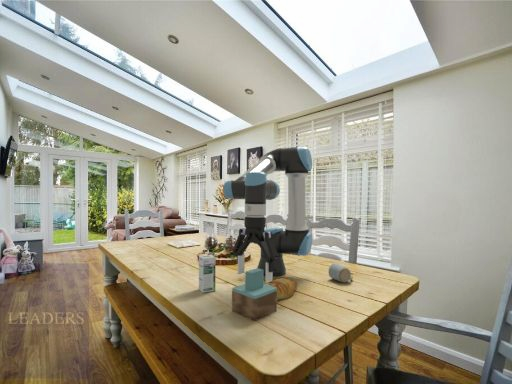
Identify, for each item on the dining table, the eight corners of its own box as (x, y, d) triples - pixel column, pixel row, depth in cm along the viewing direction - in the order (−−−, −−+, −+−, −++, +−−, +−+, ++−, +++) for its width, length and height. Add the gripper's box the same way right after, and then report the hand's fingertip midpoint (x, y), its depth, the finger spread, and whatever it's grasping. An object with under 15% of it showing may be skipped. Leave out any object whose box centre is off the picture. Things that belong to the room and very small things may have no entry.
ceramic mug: (339, 284, 126) (340, 267, 126) (328, 279, 133) (328, 263, 133) (357, 281, 130) (357, 265, 130) (344, 277, 138) (345, 261, 138)
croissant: (269, 313, 102) (277, 297, 100) (252, 295, 108) (259, 279, 106) (300, 296, 118) (307, 282, 116) (283, 281, 124) (290, 267, 122)
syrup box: (202, 293, 113) (202, 257, 113) (198, 288, 118) (198, 255, 118) (215, 291, 115) (215, 256, 116) (211, 287, 121) (211, 253, 121)
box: (232, 310, 96) (232, 290, 96) (253, 302, 104) (254, 283, 104) (254, 321, 88) (254, 299, 88) (276, 310, 96) (276, 290, 96)
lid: (232, 295, 96) (232, 270, 96) (254, 287, 104) (254, 265, 104) (254, 304, 88) (255, 277, 88) (276, 295, 96) (276, 270, 96)
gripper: (224, 214, 102) (223, 272, 102) (275, 218, 85) (274, 288, 84) (238, 214, 108) (237, 268, 107) (290, 218, 90) (289, 282, 90)
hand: (254, 277), depth 96 cm, fingers open, 13 cm apart
